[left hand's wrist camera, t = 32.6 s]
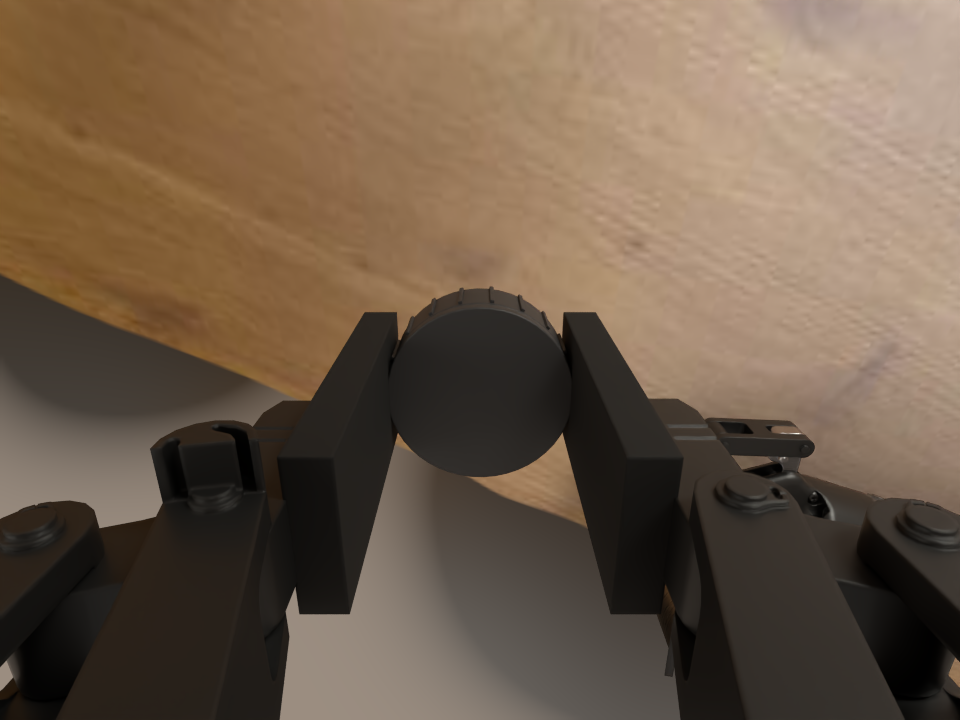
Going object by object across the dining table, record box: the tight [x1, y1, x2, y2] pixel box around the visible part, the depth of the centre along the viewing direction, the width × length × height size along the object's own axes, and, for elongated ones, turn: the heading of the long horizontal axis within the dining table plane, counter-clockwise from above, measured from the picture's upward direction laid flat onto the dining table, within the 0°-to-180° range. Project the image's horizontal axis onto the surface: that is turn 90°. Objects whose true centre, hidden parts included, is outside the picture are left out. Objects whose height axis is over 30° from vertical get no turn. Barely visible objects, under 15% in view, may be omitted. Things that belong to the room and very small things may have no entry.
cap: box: [388, 287, 572, 477], centre depth 14 cm, size 4×4×2 cm
